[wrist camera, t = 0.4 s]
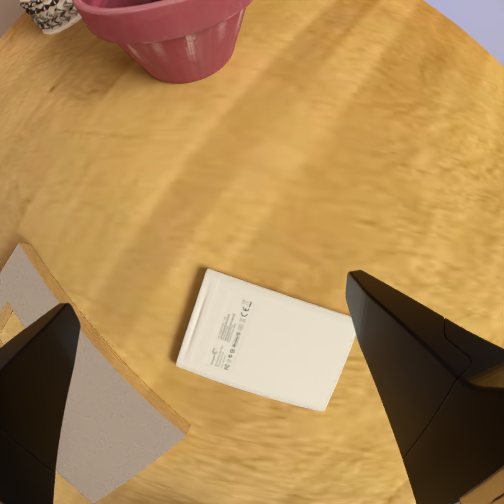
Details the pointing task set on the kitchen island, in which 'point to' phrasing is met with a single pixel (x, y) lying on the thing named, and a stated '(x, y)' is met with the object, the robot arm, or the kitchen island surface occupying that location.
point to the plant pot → (169, 33)
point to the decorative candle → (52, 14)
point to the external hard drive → (266, 342)
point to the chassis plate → (92, 392)
